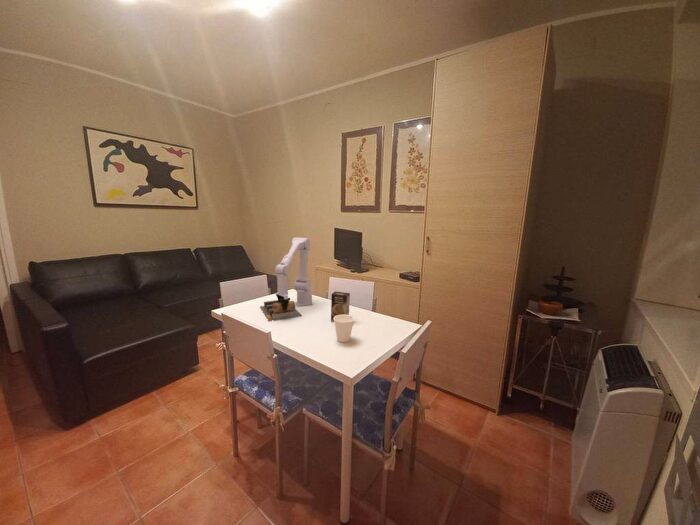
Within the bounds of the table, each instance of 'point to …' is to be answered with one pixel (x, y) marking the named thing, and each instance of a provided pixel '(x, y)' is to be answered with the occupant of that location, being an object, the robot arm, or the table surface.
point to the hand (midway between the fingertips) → (283, 307)
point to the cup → (343, 327)
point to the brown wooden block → (278, 308)
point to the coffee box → (339, 304)
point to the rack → (271, 316)
